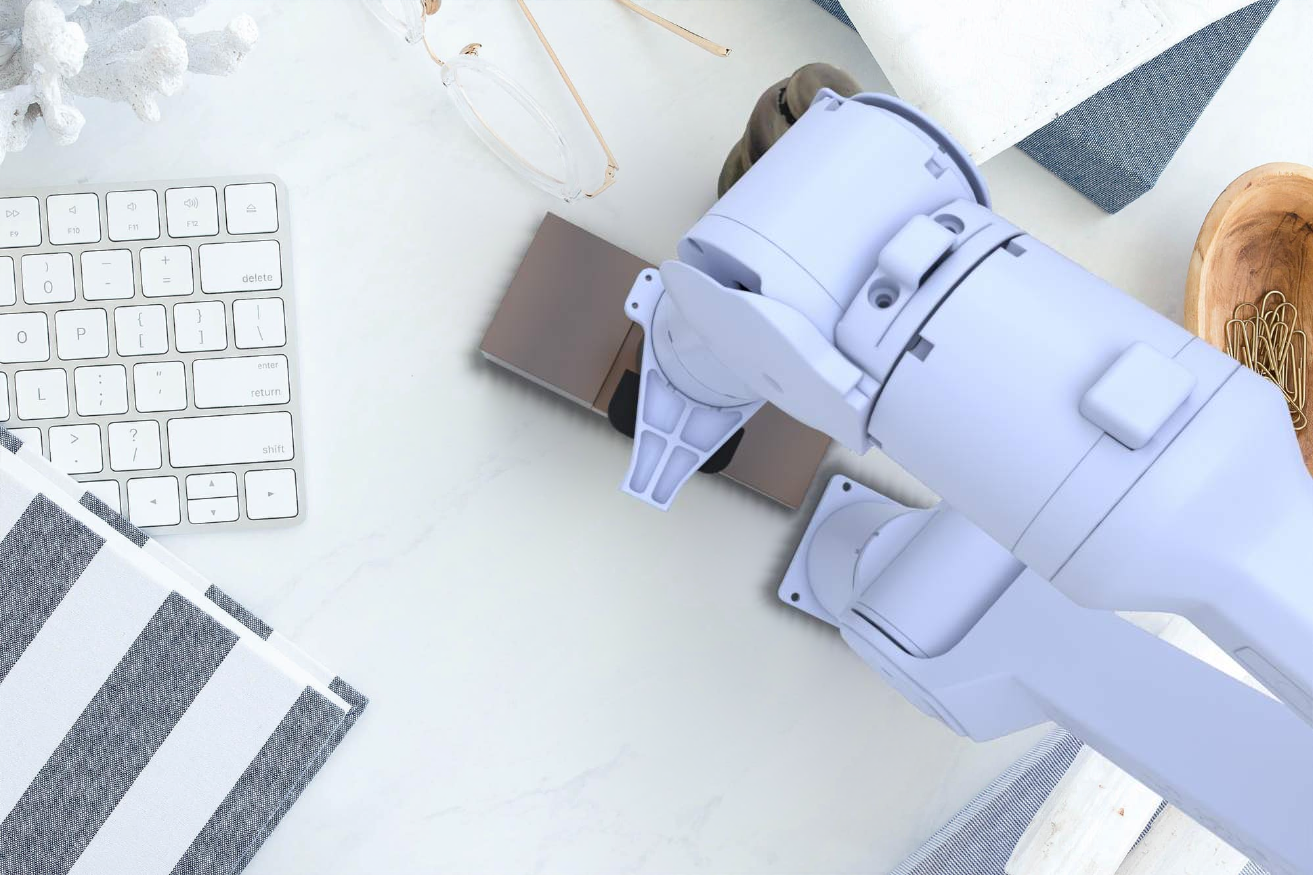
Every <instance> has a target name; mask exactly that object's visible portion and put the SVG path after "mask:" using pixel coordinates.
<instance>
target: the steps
mask: <svg viewBox="0 0 1313 875" xmlns="http://www.w3.org/2000/svg"><path fill="white" fill-rule="evenodd" d="M647 268H653V269H657V270H659V268H660V267H658V266H656V265H654V264H653V263H650V262H648V261H646V260H645V259H643V258H640V257H638V256H637V255H635V254H633V253H631V252H629V251H627V250H625V249H623V248H622V247H619V246H617V245H615V244H613V243H611V242H609V241H608V240H605V239H603V238H601V237H600V236H598V235H596V234H594V233H592V232H590V231H588V230H586V229H584V228H582V227H580V226H578V225H576V224H574V223H572V222H570V221H568V220H566V219H565V218H562V217H561V216H558V215H556V214H554V213H553V212H550V211H547V212H546V214H545V215H544V218H543V219H542V222H541V224H540V226H539V229H537V232H536V234H535V235H534V238H533V239H532V242H531V244H530V246H529V248H528V249H527V251H526V254H525V256H524V258H523V260H522V262H521V264H520V266H519V268H518V269H517V272H516V274H515V276H514V278H513V280H512V282H511V284H510V286H509V288H508V289H507V292H506V294H505V295H504V298H503V300H502V301H501V304H500V305H499V307H498V310H497V312H496V314H495V316H494V317H493V319H492V322H491V324H490V325H489V328H488V330H487V331H486V333H485V335H484V338H483V339H482V340H481V343H480V345H479V347H478V348H479V350H480V353H482V355H483V356H484V358H485V359H486V360H488V361H491V362H493V363H495V364H496V365H499V366H500V367H503V368H505V369H507V370H508V371H511V372H512V373H515V374H517V375H519V376H521V377H523V378H525V379H527V380H529V381H531V382H532V383H535V384H537V385H539V386H541V387H543V388H545V389H547V390H549V391H552V392H553V393H556V394H558V395H559V396H562V397H564V398H566V399H568V400H569V401H572V402H574V403H576V404H578V405H580V406H582V407H584V408H586V409H587V410H590V411H592V412H595V413H596V414H598V415H600V416H602V417H605V418H607V419H608V417H607V409H608V405H609V402H610V400H611V398H612V396H613V394H614V392H615V389H616V387H617V385H618V383H619V381H620V379H621V377H622V375H623V373H624V371H625V369H629V370H631V371H633V372H635V373H637V371H636V352H637V348H638V345H639V342H640V340H641V338H642V336H643V335H644V329H643V327H642V326H641V325H640V324H639V323H637V322H635V321H633V320H631V319H630V318H629V317H628V316H627V315H626V313H625V310H624V306H625V302H626V300H627V298H628V296H629V294H630V292H631V290H632V287H633V285H634V283H635V281H636V279H637V277H638V275H639V274H640V273H641V272H642V271H643V270H644V269H647ZM646 280H647V281H650V279H649V278H646ZM632 307H633V308H634V309H637V307H636V306H635V305H633V306H632ZM741 427H742V428H744V429H745V433H744V435H743V437H742V439H741V441H740V443H739V446H738V448H737V450H736V452H735V454H734V456H733V458H732V460H731V462H730V463H729V465H728V466H727V467H726V468H725V469H724V470H722V471H720V472H718V473H719V474H720V475H723V476H724V477H727V478H728V479H731V480H733V481H735V482H736V483H739V484H741V485H743V486H745V487H747V488H749V489H751V490H753V491H755V492H758V493H759V494H761V495H763V496H765V497H767V498H769V499H771V500H773V501H775V502H778V503H779V504H782V505H783V506H786V507H787V508H790V509H793V510H799V509H800V507H801V505H802V503H803V501H804V498H805V496H806V494H807V492H808V490H809V489H810V486H811V484H812V483H813V482H812V481H813V479H814V477H815V475H816V473H817V471H818V469H819V467H820V464H821V462H822V460H823V458H824V456H825V454H826V452H827V450H828V447H829V446H830V443H831V441H832V439H833V438H832V437H830V436H829V435H827V434H825V433H824V432H822V431H819V430H817V429H814V428H812V427H810V426H808V425H806V424H804V423H802V422H800V421H798V420H797V419H795V418H793V417H792V416H790V415H789V414H787V413H786V412H784V411H783V410H781V409H780V408H778V407H777V406H776V405H774V404H773V403H771V402H770V401H769V400H768V401H767V402H766V403H765V404H764V405H763V406H762V407H761V408H760V409H759V410H758V411H757V412H756V413H755V414H754V415H753V416H751V417H750V418H749V419H748V420H747V421H746V422H745V423H744V424H743V425H742V426H741ZM718 473H717V474H718Z"/></svg>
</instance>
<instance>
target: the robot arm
mask: <svg viewBox="0 0 1313 875" xmlns="http://www.w3.org/2000/svg"><path fill="white" fill-rule="evenodd" d="M677 254H678V258H679V260H676V259H675V260H674V259H667V260H664V261H663V262H661V263H660V265H659V267H658V268H659V270H657V269H653V268H647V269H644V270H643V271H642V272H641V273H640V274H639V275H638V277H637V279H636V281H635V283H634V285H633V287H632V290H631V292H630V294H629V296H628V298H627V300H626V302H625V306H624V310H625V313H626V315H627V316H628V317H629V318H630V319H631V320H633V321H635V322H637V323H639V324H640V325H641V326H642V327H643V329H644V333H645V338H644V348H643V357H642V367H641V375H639V374H637V373H635V372H633V371H631V370H629V369H625V371H624V373H623V375H622V377H621V379H620V381H619V383H618V385H617V387H616V389H615V392H614V394H613V396H612V398H611V400H610V402H609V405H608V409H607V417H608V418H607V420H608V422H609V424H610V425H611V426H612V427H613V429H614V430H615V431H617V432H618V433H619V434H622V435H623V436H626V437H628V438H630V439H631V440H633V445H632V452H631V457H630V461H629V465H628V468H627V469H626V470H625V472H624V474H623V476H622V478H621V480H620V482H619V484H618V487H617V489H618V490H619V491H621V492H623V493H625V494H627V495H628V496H631V497H633V498H635V499H636V500H638V501H641V502H643V503H645V504H647V505H649V506H651V507H653V508H655V509H657V510H660V511H662V512H664V513H668V512H669V510H670V508H671V506H672V504H673V502H674V501H675V499H676V497H677V495H678V494H679V492H680V491H681V490H682V488H683V486H684V485H686V483H687V481H689V479H690V478H691V477H692V476H693V475H694V474H695V473H696V472H700V473H702V474H707V475H713V474H718V472H720V471H722V470H724V469H725V468H726V467H727V466H728V465H729V463H730V462H731V460H732V458H733V456H734V454H735V452H736V450H737V448H738V446H739V443H740V441H741V439H742V437H743V435H744V433H745V429H744V428H742V427H741V426H742V425H743V424H744V423H745V422H746V421H747V420H748V419H749V418H750V417H751V416H753V415H754V414H755V413H756V412H757V411H758V410H759V409H760V408H761V407H762V406H763V405H764V404H765V403H766V402H767V401H768V400H769V401H770V402H771V403H773V404H774V405H776V406H777V407H778V408H780V409H781V410H783V411H784V412H786V413H787V414H789V415H790V416H792V417H793V418H795V419H797V420H798V421H800V422H802V423H804V424H806V425H808V426H810V427H812V428H814V429H817V430H819V431H822V432H824V433H825V434H827V435H829V436H830V437H832V439H834V440H835V441H836V442H838V443H839V444H840V445H842V446H843V447H844V448H845V449H847V450H848V451H849V452H851V451H852V452H854V453H855V454H856V455H857V456H859V457H864V456H865V455H866V454H867V453H868V451H869V450H871V448H872V447H875V449H878V451H880V452H882V453H883V454H884V455H885V456H887V457H888V458H889V459H890V460H892V461H893V462H894V463H895V464H897V465H898V466H899V467H901V468H902V469H903V470H904V471H906V472H907V473H908V474H909V475H911V476H912V477H913V478H914V479H916V480H917V481H919V482H920V483H922V485H923V486H925V487H926V488H927V489H929V490H930V491H931V492H932V493H934V494H935V495H936V496H938V497H939V498H940V499H942V500H940V501H939V502H938V503H937V504H935V505H933V506H932V507H930V508H926V509H924V508H917V507H909V506H905V505H903V504H901V503H900V502H897V501H895V500H893V499H891V498H890V497H887V496H885V495H883V494H881V493H879V492H877V491H876V490H873V489H872V488H869V487H867V486H865V485H864V484H861V483H860V482H857V481H855V480H853V479H851V478H850V477H847V476H845V475H843V474H839V473H838V474H833V475H832V476H831V477H830V478H829V481H828V482H827V485H826V487H825V489H824V491H823V493H822V496H821V498H820V500H819V502H818V504H817V506H816V508H815V510H814V513H813V515H812V517H811V519H810V521H809V524H808V526H807V527H806V530H805V532H804V533H803V536H802V538H801V540H800V542H799V545H798V547H797V549H796V551H795V553H794V554H793V555H794V556H793V558H792V560H791V562H790V564H789V566H788V569H787V570H786V572H785V575H784V577H783V579H782V581H781V583H780V585H779V588H778V590H777V596H778V598H779V599H780V600H781V601H782V602H784V603H786V604H788V605H790V606H792V607H795V608H796V609H798V610H801V611H803V612H805V613H807V614H809V615H811V616H814V617H815V618H818V619H820V620H822V621H824V622H825V623H828V624H830V625H832V626H834V627H836V628H838V629H839V633H840V637H841V638H842V640H843V641H844V642H845V643H846V644H847V645H848V646H849V648H851V649H852V650H853V652H854V653H855V654H856V655H857V656H858V657H859V658H860V659H861V660H862V661H863V662H864V663H866V665H868V667H870V668H871V669H872V670H873V671H874V672H875V673H876V674H877V675H878V676H879V677H880V678H881V679H883V681H885V682H886V683H887V684H888V685H889V686H890V687H891V688H893V689H894V690H895V691H896V692H897V693H898V694H899V695H901V697H903V698H904V699H905V700H906V701H908V703H910V704H911V705H913V707H915V708H916V709H917V710H919V711H920V712H921V713H923V714H924V715H925V716H927V717H929V718H934V719H935V720H937V721H939V723H942V725H944V726H945V727H947V728H948V729H949V730H951V731H952V732H953V733H954V734H956V735H957V736H958V737H960V738H962V737H963V738H965V737H966V738H967V737H968V738H969V739H970V740H972V741H973V742H974V743H975V744H982V743H986V742H991V741H994V740H997V739H1000V738H1003V737H1006V736H1009V735H1013V734H1015V733H1018V732H1021V731H1023V730H1027V729H1030V728H1033V727H1036V726H1038V725H1042V724H1045V723H1048V722H1053V723H1055V724H1057V725H1058V726H1059V727H1061V728H1062V729H1064V730H1065V731H1066V732H1068V733H1069V734H1071V735H1072V736H1073V737H1075V738H1076V739H1078V740H1079V741H1081V743H1084V744H1085V745H1086V746H1088V747H1089V748H1090V749H1092V750H1093V751H1094V752H1096V753H1097V754H1099V755H1100V756H1102V757H1103V758H1105V759H1106V760H1107V761H1109V762H1111V763H1112V764H1113V765H1114V766H1116V767H1117V768H1119V769H1120V770H1122V771H1123V772H1125V773H1126V774H1127V775H1129V776H1130V777H1132V778H1133V779H1134V780H1136V781H1137V782H1139V783H1140V784H1142V785H1143V786H1144V787H1146V788H1148V789H1149V790H1150V791H1152V792H1153V793H1154V794H1156V795H1157V796H1159V797H1160V798H1161V799H1163V800H1164V801H1166V802H1167V803H1169V804H1170V805H1172V806H1173V807H1174V808H1176V809H1177V810H1179V811H1180V812H1182V813H1183V814H1184V815H1185V816H1187V817H1189V818H1190V819H1191V820H1193V821H1194V822H1196V823H1197V824H1198V825H1200V826H1201V827H1203V828H1204V829H1205V830H1207V831H1208V832H1210V833H1212V834H1213V835H1214V836H1216V837H1217V838H1219V839H1220V840H1222V841H1223V842H1224V843H1226V844H1227V845H1228V846H1230V847H1231V848H1232V849H1234V850H1235V851H1237V852H1238V853H1240V854H1241V855H1243V856H1244V857H1246V858H1247V859H1248V860H1250V861H1251V862H1252V863H1254V864H1255V865H1257V866H1258V867H1260V868H1261V869H1262V870H1264V871H1266V872H1267V873H1268V874H1270V875H1313V476H1312V475H1311V474H1310V471H1309V470H1308V468H1307V466H1306V463H1305V461H1304V456H1303V453H1302V450H1301V447H1300V444H1299V439H1298V438H1297V434H1296V430H1295V425H1294V423H1293V418H1292V415H1291V411H1290V408H1289V405H1288V402H1287V400H1286V398H1285V394H1284V392H1283V390H1282V389H1281V388H1280V386H1278V385H1277V384H1276V383H1275V382H1273V381H1271V380H1269V379H1268V378H1267V377H1265V376H1263V375H1261V374H1259V373H1258V372H1257V371H1255V370H1253V369H1252V368H1249V367H1248V366H1247V365H1245V364H1244V363H1243V364H1241V361H1239V360H1237V359H1235V358H1233V357H1232V356H1231V355H1229V354H1227V353H1225V352H1224V351H1222V350H1221V349H1219V348H1218V347H1216V346H1214V345H1212V344H1210V342H1208V341H1206V340H1205V339H1203V338H1201V337H1200V336H1197V335H1196V334H1193V333H1192V332H1191V331H1189V330H1187V329H1185V328H1183V327H1182V326H1180V324H1177V323H1175V322H1174V321H1172V320H1171V319H1169V318H1167V317H1165V316H1164V315H1163V314H1161V313H1160V312H1158V311H1156V310H1154V309H1152V308H1151V307H1149V306H1148V305H1146V304H1144V303H1143V302H1141V301H1140V300H1138V299H1136V298H1135V297H1133V296H1131V295H1130V294H1128V293H1127V292H1125V291H1123V290H1121V289H1120V288H1118V287H1117V286H1115V285H1113V284H1112V283H1110V282H1108V280H1105V279H1103V278H1102V277H1100V276H1099V275H1097V274H1095V273H1094V272H1092V271H1090V270H1089V269H1087V268H1085V267H1084V266H1082V265H1080V264H1079V263H1078V262H1076V261H1074V260H1072V259H1071V258H1069V257H1067V256H1066V255H1065V254H1063V253H1061V252H1059V251H1058V250H1056V249H1054V248H1053V247H1051V246H1049V245H1048V244H1046V243H1045V242H1043V241H1042V240H1040V239H1039V238H1037V237H1035V236H1033V235H1031V234H1030V233H1028V232H1027V231H1026V230H1024V229H1022V228H1021V227H1019V226H1017V225H1016V224H1014V223H1012V222H1011V221H1010V220H1007V219H1006V218H1004V217H1003V216H1001V215H999V214H998V213H996V212H995V211H993V203H992V197H991V193H990V191H989V188H988V185H987V183H986V180H985V178H984V176H983V175H982V173H981V170H980V169H979V167H978V166H977V164H976V163H975V161H974V160H973V158H972V157H971V156H970V154H969V153H968V152H967V150H966V149H965V147H964V146H963V145H962V144H961V143H960V142H959V141H958V140H955V138H954V137H952V135H951V132H949V131H948V130H947V129H946V128H945V127H944V126H943V125H941V124H940V123H939V122H938V121H937V120H935V119H934V117H931V115H930V114H927V113H926V112H925V111H923V110H921V108H918V107H917V106H915V105H913V104H911V103H909V102H908V101H905V100H903V99H901V98H899V97H896V96H893V95H890V94H887V93H882V92H873V91H866V92H865V91H864V93H859V94H856V95H854V96H852V97H850V98H844V97H842V96H840V95H838V94H837V93H835V92H834V91H832V90H831V89H829V88H822V89H820V90H819V92H818V93H817V95H816V96H815V98H814V99H813V101H812V103H811V105H810V107H809V109H808V110H807V111H806V112H805V113H804V115H803V116H802V117H801V118H800V119H799V120H798V121H797V122H796V123H795V124H794V125H793V126H792V127H791V128H790V129H789V130H788V131H787V132H786V133H785V134H784V135H783V136H782V137H781V138H780V139H779V140H778V141H777V142H776V143H775V144H774V145H773V146H772V147H771V148H770V149H769V150H768V151H767V152H766V153H765V154H764V155H763V156H762V157H761V158H760V159H759V160H758V161H757V162H756V163H755V164H754V165H753V166H752V167H751V168H750V169H749V170H748V171H747V172H746V173H745V174H744V175H743V176H742V177H741V178H740V179H739V180H738V181H737V182H736V183H735V184H734V185H733V186H732V187H731V188H730V190H729V191H728V192H727V193H726V194H725V195H724V196H723V197H722V198H721V199H720V200H717V202H715V203H714V204H713V206H712V207H710V209H709V210H708V211H707V212H706V213H705V214H703V216H701V217H700V218H699V219H698V221H697V222H695V224H694V225H693V226H692V227H691V228H690V229H689V230H688V231H686V233H685V234H684V235H683V236H682V237H681V238H680V239H679V241H678V243H677ZM646 278H649V279H650V281H647V280H646ZM633 305H635V306H636V307H637V309H634V308H633V307H632V306H633ZM846 483H847V484H848V486H849V487H848V489H847V490H844V485H845V484H846ZM794 594H797V596H798V597H797V599H796V600H793V599H792V595H794ZM1116 612H1136V613H1137V612H1139V613H1162V614H1163V613H1164V614H1172V615H1176V616H1180V617H1182V618H1184V619H1186V620H1187V621H1188V622H1189V623H1190V624H1192V625H1193V626H1194V627H1195V628H1196V629H1198V630H1199V631H1200V632H1201V633H1202V634H1203V635H1204V636H1205V637H1207V638H1208V639H1209V640H1210V641H1211V642H1212V643H1213V644H1215V645H1216V646H1217V647H1218V648H1219V649H1220V650H1221V651H1223V652H1224V654H1226V655H1227V656H1228V657H1229V658H1230V659H1231V660H1233V661H1234V662H1235V663H1236V664H1238V666H1240V668H1242V669H1243V670H1245V671H1246V672H1247V673H1248V674H1249V675H1250V676H1251V677H1252V678H1254V679H1255V680H1256V681H1257V682H1258V683H1259V684H1260V685H1261V686H1263V688H1265V689H1267V691H1268V692H1270V693H1271V694H1272V695H1273V696H1274V697H1275V698H1276V699H1275V698H1273V697H1271V696H1270V695H1268V694H1266V693H1264V692H1262V691H1260V690H1259V689H1256V688H1254V687H1253V686H1251V685H1249V684H1247V683H1245V682H1243V681H1242V680H1239V679H1238V678H1236V677H1234V676H1232V675H1230V674H1228V673H1227V672H1224V671H1223V670H1221V669H1219V668H1218V667H1215V666H1213V665H1211V664H1209V663H1208V662H1206V661H1204V660H1202V659H1200V658H1198V657H1196V656H1195V655H1192V654H1191V653H1189V652H1187V651H1185V650H1183V649H1182V648H1180V647H1177V646H1176V645H1174V644H1172V643H1170V642H1168V641H1167V640H1164V639H1163V638H1160V637H1159V636H1157V635H1156V634H1153V633H1152V632H1150V631H1147V630H1146V629H1144V628H1142V627H1141V626H1139V625H1137V624H1135V623H1133V622H1131V621H1129V620H1128V619H1125V618H1123V617H1122V616H1120V615H1118V614H1116Z"/></svg>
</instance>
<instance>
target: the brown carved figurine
mask: <svg viewBox="0 0 1313 875" xmlns="http://www.w3.org/2000/svg"><path fill="white" fill-rule="evenodd" d="M822 88H829V89H831V90H832V91H834V92H835V93H837V94H838V95H840V96H842V97H844V98H850V97H852V96H854V95H856V94H859V93H864V92H865V91H864V89H863V88H862V87H861V85H860V84H859V83H858V81H857V80H856V79H855V78H854V77H853V76H852V75H851V74H850V73H849V72H847V71H846V70H845V69H843V68H842V67H839V66H837V65H834V64H831V63H826V62H821V61H820V62H812V63H806V64H805V65H803V66H800V67H798V69H796V70H794V72H793V73H792V75H791V76H788V77H785V78H783V79H782V80H780V81H778V82H776V83H774V84H773V85H770V86H769V87H768V88H767V89H766V90H765V91H764V92H763V93H761V95H760V97H759V98H758V99H757V101H756V103H755V105H754V108H753V110H752V112H751V115H750V117H749V118H748V120H747V123H746V126H745V129H744V133H743V135H742V137H741V138H740V139H739V140H738V141H737V142H736V143H735V145H734V146H733V147H732V148H731V149H730V152H729V153H728V155H727V157H726V158H725V161H724V163H723V165H722V167H721V171H720V174H719V176H718V180H717V199H718V200H717V201H719V200H720V199H721V198H722V197H723V196H724V195H725V194H726V193H727V192H728V191H729V190H730V188H731V187H732V186H733V185H734V184H735V183H736V182H737V181H738V180H739V179H740V178H741V177H742V176H743V175H744V174H745V173H746V172H747V171H748V170H749V169H750V168H751V167H752V166H753V165H754V164H755V163H756V162H757V161H758V160H759V159H760V158H761V157H762V156H763V155H764V154H765V153H766V152H767V151H768V150H769V149H770V148H771V147H772V146H773V145H774V144H775V143H776V142H777V141H778V140H779V139H780V138H781V137H782V136H783V135H784V134H785V133H786V132H787V131H788V130H789V129H790V128H791V127H792V126H793V125H794V124H795V123H796V122H797V121H798V120H799V119H800V118H801V117H802V116H803V115H804V113H805V112H806V111H807V110H808V109H809V107H810V105H811V103H812V101H813V99H814V98H815V96H816V95H817V93H818V92H819V90H820V89H822Z"/></svg>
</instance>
